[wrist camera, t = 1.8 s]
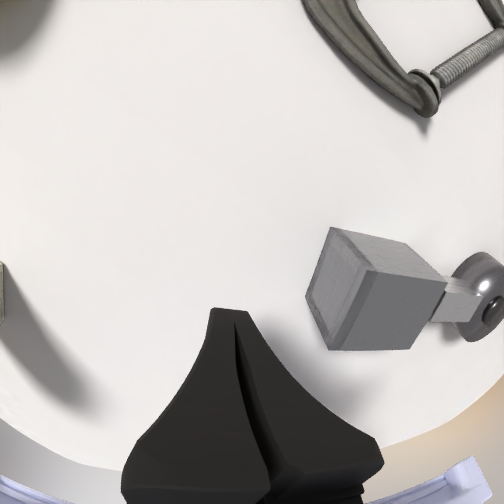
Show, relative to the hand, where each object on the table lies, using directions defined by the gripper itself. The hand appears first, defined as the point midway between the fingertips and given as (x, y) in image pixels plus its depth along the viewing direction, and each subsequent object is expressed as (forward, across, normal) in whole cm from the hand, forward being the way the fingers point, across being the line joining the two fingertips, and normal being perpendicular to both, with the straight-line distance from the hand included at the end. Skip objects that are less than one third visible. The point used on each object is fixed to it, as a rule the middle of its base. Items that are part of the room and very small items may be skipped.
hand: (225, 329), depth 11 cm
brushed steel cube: (+7, -9, 0) cm, 11 cm away
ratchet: (+7, -27, 0) cm, 27 cm away
